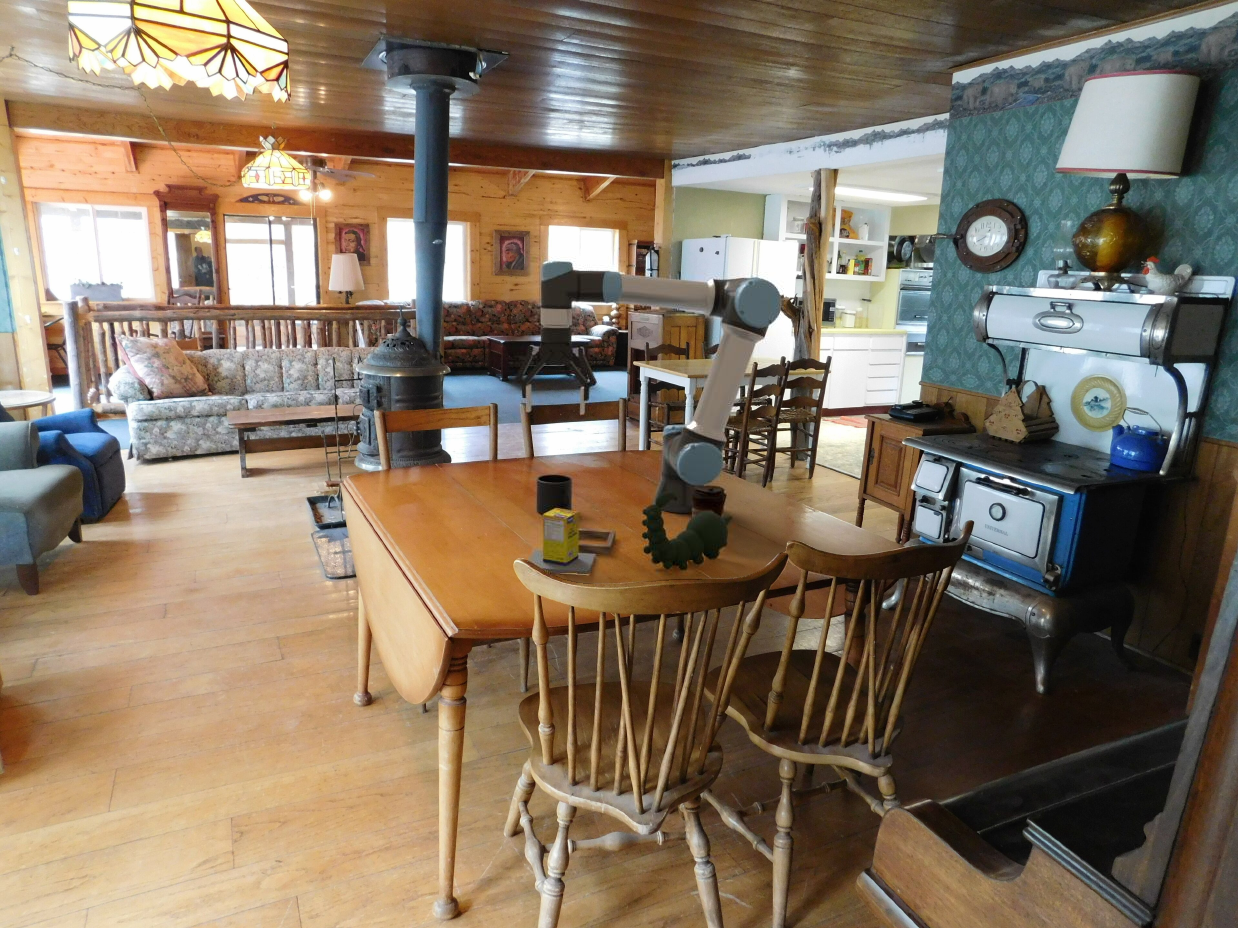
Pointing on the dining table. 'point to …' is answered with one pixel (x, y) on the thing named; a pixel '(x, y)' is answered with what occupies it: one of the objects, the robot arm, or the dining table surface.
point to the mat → (577, 566)
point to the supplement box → (560, 536)
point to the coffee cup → (708, 500)
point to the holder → (596, 548)
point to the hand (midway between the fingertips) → (555, 412)
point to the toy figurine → (683, 536)
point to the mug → (554, 493)
